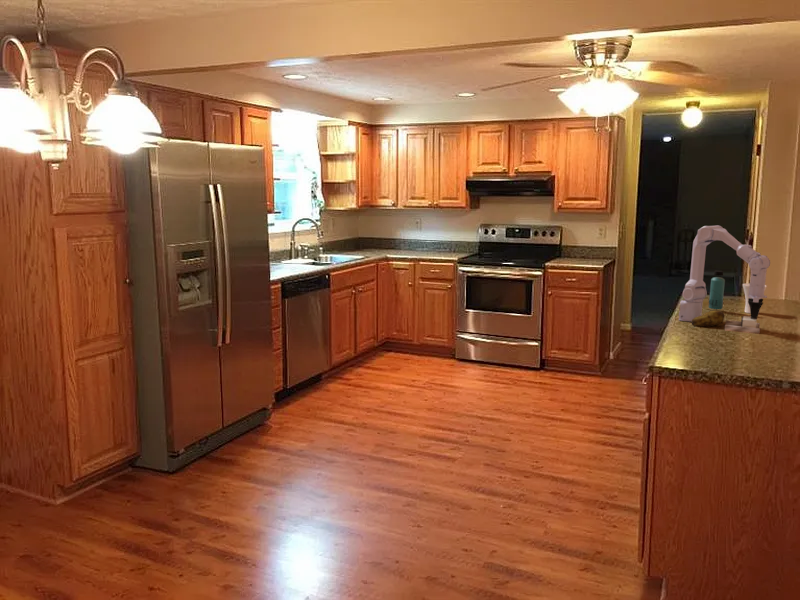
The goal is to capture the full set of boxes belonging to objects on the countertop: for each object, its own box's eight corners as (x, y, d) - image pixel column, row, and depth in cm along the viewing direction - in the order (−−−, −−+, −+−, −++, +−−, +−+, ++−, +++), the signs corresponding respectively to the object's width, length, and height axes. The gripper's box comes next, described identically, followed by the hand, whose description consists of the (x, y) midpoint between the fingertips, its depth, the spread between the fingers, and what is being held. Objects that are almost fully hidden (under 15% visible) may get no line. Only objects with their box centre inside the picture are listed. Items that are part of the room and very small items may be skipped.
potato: (690, 324, 297) (692, 307, 296) (722, 327, 292) (724, 309, 291) (691, 328, 290) (692, 310, 288) (724, 331, 285) (725, 312, 283)
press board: (724, 332, 282) (724, 325, 281) (725, 326, 294) (726, 319, 293) (759, 336, 276) (759, 329, 275) (759, 329, 288) (759, 322, 287)
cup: (763, 315, 319) (766, 287, 317) (738, 313, 324) (741, 285, 322) (764, 311, 328) (767, 284, 325) (740, 309, 333) (743, 282, 331)
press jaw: (740, 330, 281) (742, 310, 280) (740, 326, 289) (742, 306, 287) (755, 331, 278) (758, 311, 277) (755, 327, 286) (757, 307, 285)
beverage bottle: (721, 310, 331) (725, 270, 327) (723, 312, 325) (727, 271, 321) (707, 309, 333) (710, 269, 330) (708, 311, 327) (712, 271, 323)
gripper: (768, 287, 271) (764, 320, 274) (767, 283, 284) (764, 314, 286) (748, 286, 275) (745, 318, 277) (749, 281, 287) (746, 313, 290)
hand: (754, 316), depth 282 cm, fingers open, 5 cm apart
